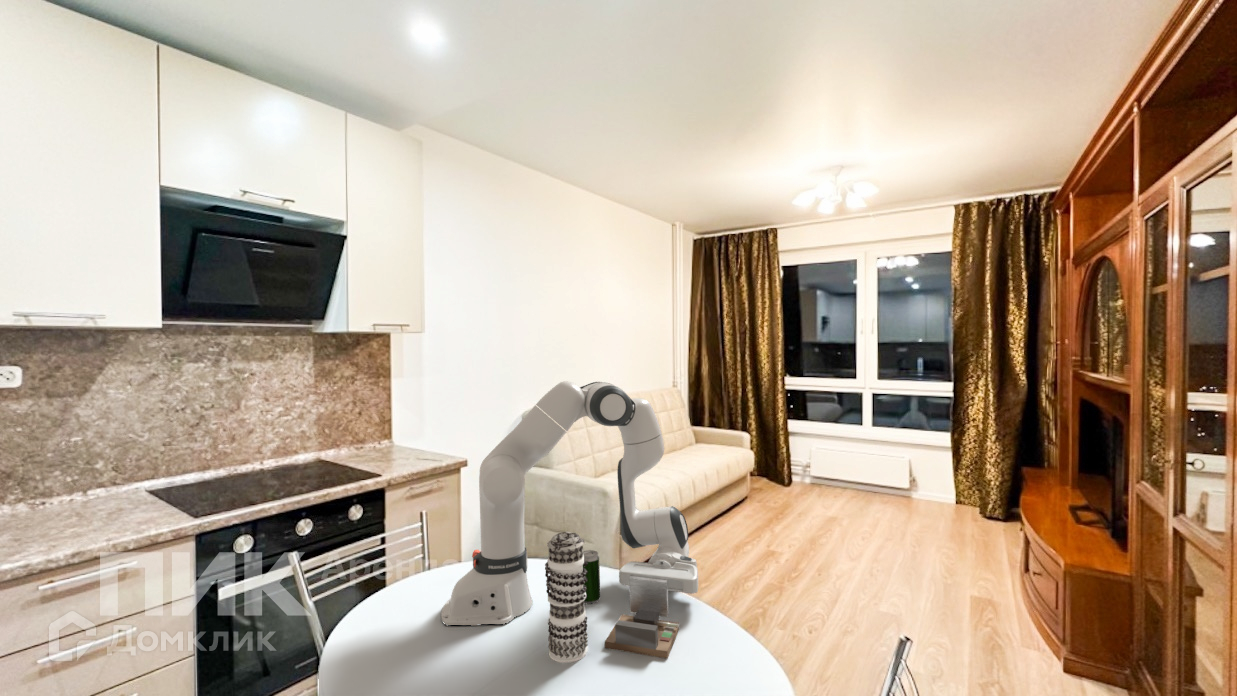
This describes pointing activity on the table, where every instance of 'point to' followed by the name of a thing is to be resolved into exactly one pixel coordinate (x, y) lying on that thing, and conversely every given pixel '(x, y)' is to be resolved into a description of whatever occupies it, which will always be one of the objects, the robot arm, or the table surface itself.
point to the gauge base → (656, 653)
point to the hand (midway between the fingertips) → (651, 591)
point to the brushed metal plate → (649, 600)
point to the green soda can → (592, 576)
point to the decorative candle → (566, 598)
